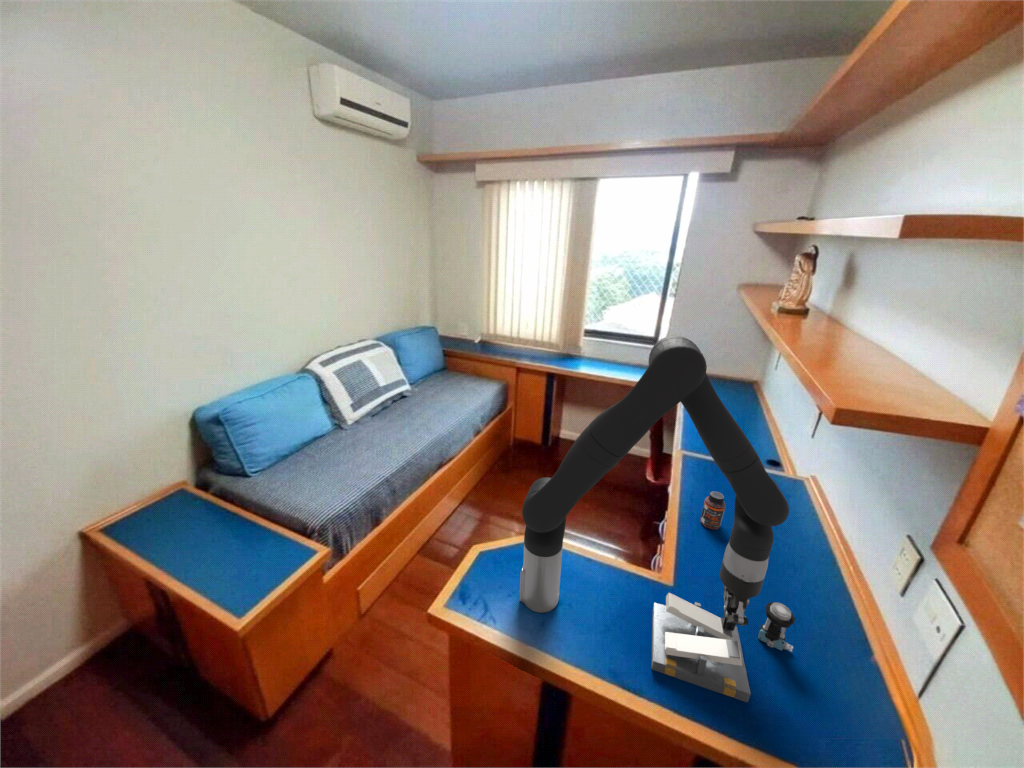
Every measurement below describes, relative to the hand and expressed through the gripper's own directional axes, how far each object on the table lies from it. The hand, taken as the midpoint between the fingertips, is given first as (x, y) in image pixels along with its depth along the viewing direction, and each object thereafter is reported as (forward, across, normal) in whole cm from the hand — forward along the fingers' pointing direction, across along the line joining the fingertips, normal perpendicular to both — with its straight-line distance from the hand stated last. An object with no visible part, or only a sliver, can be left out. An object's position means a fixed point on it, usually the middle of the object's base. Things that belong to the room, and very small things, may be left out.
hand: (727, 627), depth 85 cm
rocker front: (0, +8, -6) cm, 10 cm away
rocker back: (0, 0, -6) cm, 6 cm away
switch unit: (+6, +4, -6) cm, 9 cm away
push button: (+6, -4, +11) cm, 13 cm away
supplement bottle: (+6, -44, +2) cm, 44 cm away
